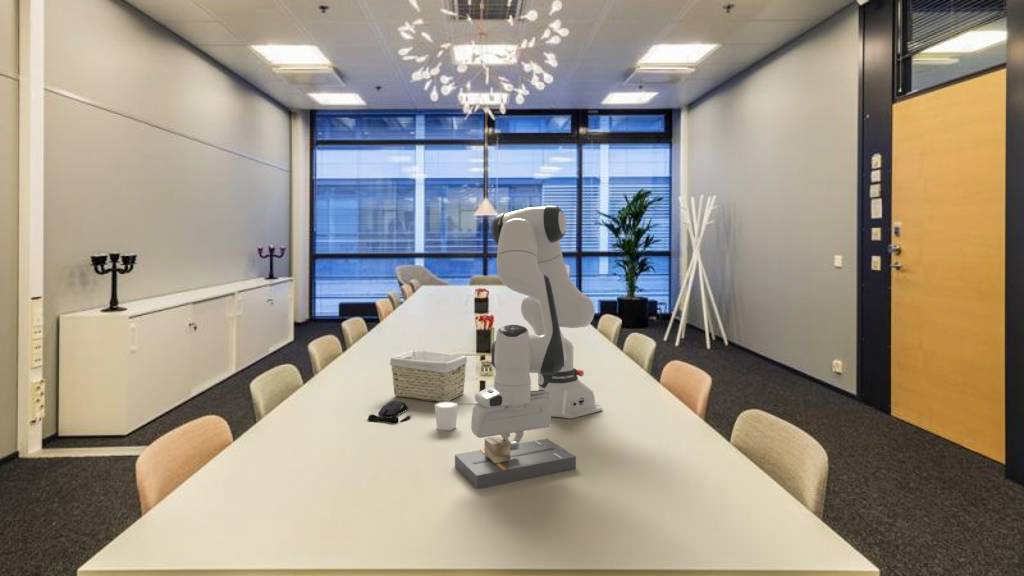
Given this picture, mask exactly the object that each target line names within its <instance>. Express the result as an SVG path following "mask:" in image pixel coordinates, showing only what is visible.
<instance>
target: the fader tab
mask: <svg viewBox="0 0 1024 576" xmlns="http://www.w3.org/2000/svg"><path fill="white" fill-rule="evenodd" d="M484 449H485V456H487V457H488V458H489V459H490V460H491V461H492V462H494V463H500V462H505V461H510V444H509V443H508V442H507V441H505V440H504V439H503V438H502V436H501V435H497V436H490V437H485V438H484Z"/></svg>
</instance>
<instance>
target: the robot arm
mask: <svg viewBox="0 0 1024 576" xmlns="http://www.w3.org/2000/svg"><path fill="white" fill-rule="evenodd" d="M566 230H567V219H566V217H565V214H564V211H563V209H561V208H560V207H559V206H558V205H545V206H532V207H525V208H523V209H522V208H521V209H517V210H513V211H509V212H506V211H505V212H502V213H500V214H498V215H496V216H495V217H494V218H493V220H492V222H491V235H492V239H493V241H494V243H495V244H496V245H497V249H496V250H497V251H496V253H497V254H496V270H497V277H498V279H499V280H500V282H501V283H502V284H503V285H504V286H505V287H507V288H508V289H510V290H512V291H513V292H515V293H518V294H521V295H524V296H525V297H524V298H523V299H522V302H521V306H520V313H521V315H522V317H523V319H524V320H525V321H526V322H527V323H528V324H529V325H530V326H531V328H532V330H533V332H534V334H529V329H528V328H527V327H525V326H522V325H519V324H507V325H504V326H501V327H499V328H497V332H496V336H495V340H494V342H493V343H491V344H492V345H491V349H490V351H491V358H490V359H491V363H490V364H491V365H492V366H493V368H495V376H494V380H493V381H494V383H493V384H492V385H490V386H488V387H487V388H484V389H482V390H480V391H478V392H476V393H475V395H474V399H475V402H477V403H476V404H475V405H474V406H473V408H472V411H471V412H472V413H471V428H470V429H471V432H472V434H473V435H475V437H477V438H478V439H483V438H490V437H497V436H500V437H501V438H503V439H504V440H505V441H507V442H508V443H509V444H510V451H511V450H516V449H519V443H521V441H522V438H523V436H524V432H526V431H532V430H537V429H545V428H549V427H550V425H551V423H552V417H553V418H564V419H574V418H579V417H581V416H582V417H583V416H587V415H590V414H594V413H598V412H601V411H602V410H603V407H602V406H601V404H599V403H597V402H596V399H595V394H594V391H593V390H592V389H591V388H590V387H588V385H586V384H585V383H583V382H582V381H581V380H580V379H579V378H578V376H579V377H583V376H584V375H585V372H584V370H582V369H576V368H574V345H573V343H572V342H571V341H570V340H569V339H568V338H566V336H565V335H564V334H563V333H562V331H561V328H568V329H578V328H585V327H588V326H589V325H590V324H591V323H592V321H593V319H594V317H595V311H596V310H595V306H594V303H593V301H592V300H591V298H590V297H589V296H586V295H585V294H584V293H582V292H581V291H580V289H579V288H578V287H577V286H576V285H575V284H574V283H573V280H571V277H570V276H569V274H568V271H567V267H566V265H565V260H564V257H563V251H562V248H561V244H560V243H561V242H560V240H562V239H563V237H565V235H566ZM530 374H537V383H538V390H531V389H532V386H531V385H532V380H531V376H530ZM513 433H514V434H515V436H514V438H513V440H510V439H509V438H510V437H511V434H513Z"/></svg>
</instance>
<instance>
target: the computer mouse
mask: <svg viewBox="0 0 1024 576" xmlns="http://www.w3.org/2000/svg"><path fill="white" fill-rule="evenodd" d="M405 410H406V411H408V410H409V407H408V405H407V403H405V401H402V400H398V399H393V400H391V401H389V402H387V403H386V404H384V405H383V406H382V407H381V408H380V410H379V411H378V412H377V413H378V415H375V414H373V413H371V414H369V415H368V416H367V417H368V418H367V419H366V420H367V421H368V422H381V423H383V422H384V423H387V422H388V423H387V424H398V423H399V422H400V423H403V421H404V422H405V421H407V420H409V419H410V418H411V417H412V414H409V415H407V416H406V417H404V418H402V419H401V420H400V421H399V415H400V414H401V412H402V413H404V412H406V411H405ZM403 411H404V412H403ZM399 413H400V414H399ZM387 416H388V417H387Z"/></svg>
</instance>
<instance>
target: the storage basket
mask: <svg viewBox="0 0 1024 576" xmlns="http://www.w3.org/2000/svg"><path fill="white" fill-rule="evenodd" d="M467 357H468V356H467V355H463V354H458V353H457V354H456V353H450V352H449V353H447V352H438V351H437V352H436V351H427V350H416V349H414V350H410V351H406V352H402V353H400V354H397V355H395V356H394V355H393V356H391V358H390V361H389V365H390V366H391V373H392V383H393V384H392V386H393V392H394V396H396V397H401V398H410V399H417V400H421V401H428V402H429V401H430V402H437V403H440V402H451V401H452V400H454V399H456V398H458V397H460V396H462V395H463V394H464V391H465V381H466V379H465V378H466V365H467V363H468V359H467Z"/></svg>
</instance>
